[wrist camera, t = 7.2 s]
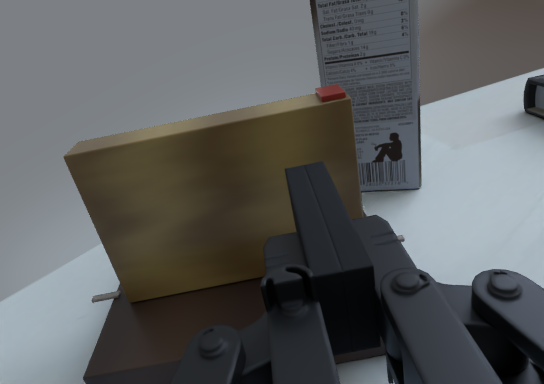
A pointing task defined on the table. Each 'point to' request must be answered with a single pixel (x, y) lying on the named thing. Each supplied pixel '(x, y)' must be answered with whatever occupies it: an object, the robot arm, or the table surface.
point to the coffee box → (375, 83)
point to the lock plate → (173, 330)
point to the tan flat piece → (210, 189)
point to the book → (534, 96)
